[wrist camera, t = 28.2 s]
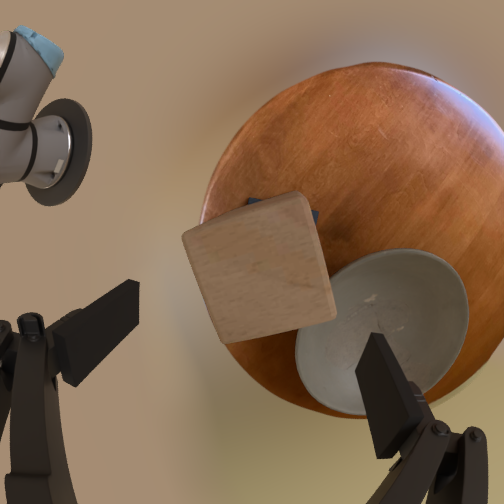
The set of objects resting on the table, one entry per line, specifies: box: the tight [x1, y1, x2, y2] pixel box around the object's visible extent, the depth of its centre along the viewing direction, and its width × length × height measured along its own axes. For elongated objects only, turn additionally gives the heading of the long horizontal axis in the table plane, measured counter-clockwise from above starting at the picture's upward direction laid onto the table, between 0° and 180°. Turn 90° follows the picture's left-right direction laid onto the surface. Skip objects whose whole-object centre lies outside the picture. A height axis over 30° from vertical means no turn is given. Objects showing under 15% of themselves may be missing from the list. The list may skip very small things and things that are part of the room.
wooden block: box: [182, 191, 337, 344], centre depth 31 cm, size 10×10×20 cm
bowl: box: [295, 248, 469, 415], centre depth 38 cm, size 27×28×8 cm
